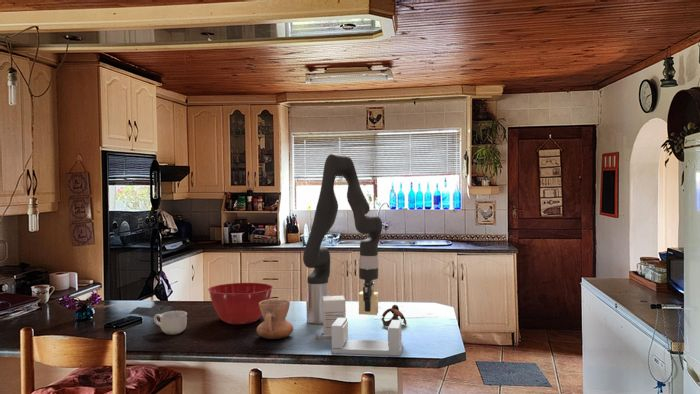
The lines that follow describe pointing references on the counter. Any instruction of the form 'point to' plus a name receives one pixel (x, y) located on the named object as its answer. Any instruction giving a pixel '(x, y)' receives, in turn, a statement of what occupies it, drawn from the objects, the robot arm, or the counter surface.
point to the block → (373, 304)
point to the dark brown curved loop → (395, 315)
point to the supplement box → (332, 312)
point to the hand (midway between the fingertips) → (368, 309)
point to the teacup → (172, 321)
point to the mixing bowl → (239, 301)
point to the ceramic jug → (274, 319)
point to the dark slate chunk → (151, 310)
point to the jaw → (337, 333)
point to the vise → (376, 343)
